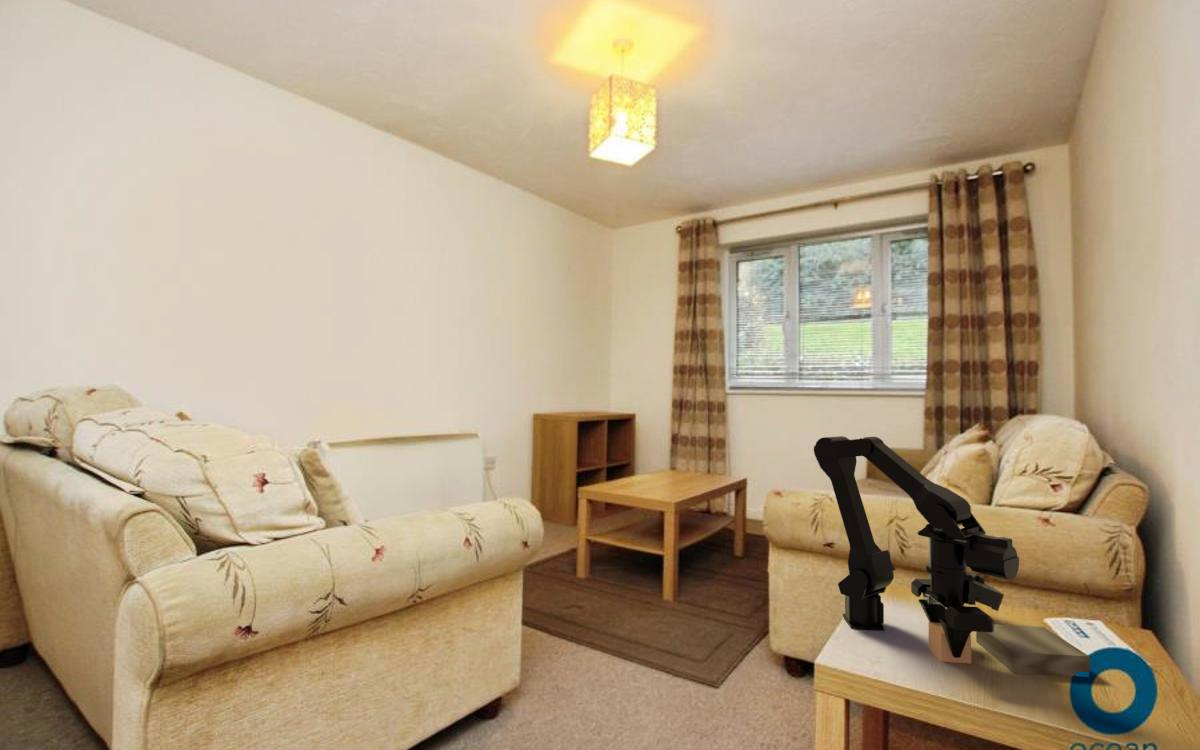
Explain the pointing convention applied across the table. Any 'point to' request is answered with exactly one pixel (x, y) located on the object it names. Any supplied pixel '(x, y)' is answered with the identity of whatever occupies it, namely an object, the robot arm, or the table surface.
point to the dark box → (1033, 651)
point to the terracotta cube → (946, 645)
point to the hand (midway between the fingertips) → (949, 650)
